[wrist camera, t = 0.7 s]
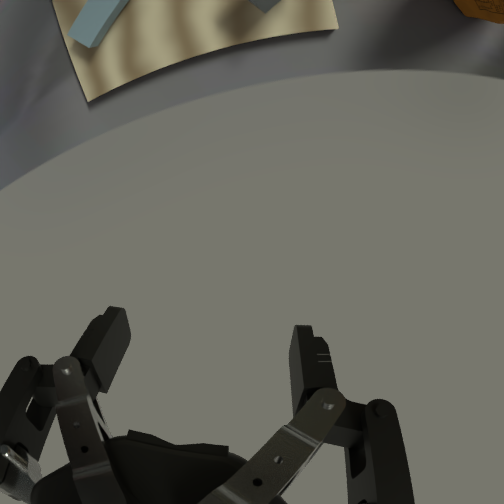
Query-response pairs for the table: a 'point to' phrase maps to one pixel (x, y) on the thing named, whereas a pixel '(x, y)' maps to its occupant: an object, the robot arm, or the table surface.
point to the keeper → (264, 4)
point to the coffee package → (483, 9)
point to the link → (95, 21)
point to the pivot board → (179, 34)
